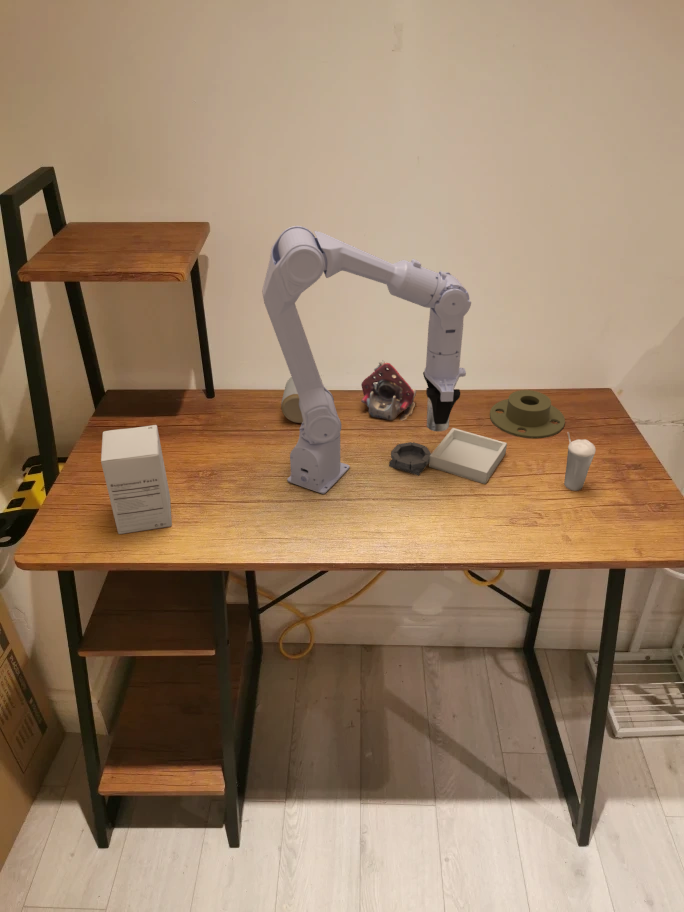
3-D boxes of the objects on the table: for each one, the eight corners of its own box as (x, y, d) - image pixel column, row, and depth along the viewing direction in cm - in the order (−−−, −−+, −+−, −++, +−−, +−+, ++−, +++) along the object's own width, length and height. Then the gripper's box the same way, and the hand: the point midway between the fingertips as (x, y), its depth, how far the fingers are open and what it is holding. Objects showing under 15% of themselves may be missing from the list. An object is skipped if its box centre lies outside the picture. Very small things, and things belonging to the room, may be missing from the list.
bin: (485, 484, 129) (486, 472, 128) (428, 466, 134) (429, 455, 132) (505, 453, 137) (507, 443, 136) (451, 438, 142) (452, 427, 140)
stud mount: (420, 477, 131) (420, 468, 130) (385, 466, 134) (385, 457, 133) (435, 458, 136) (436, 449, 135) (401, 448, 139) (402, 438, 138)
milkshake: (565, 473, 132) (575, 426, 126) (591, 485, 129) (602, 438, 123) (551, 483, 129) (561, 436, 124) (578, 496, 126) (589, 449, 121)
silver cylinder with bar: (427, 432, 129) (428, 396, 125) (424, 420, 132) (425, 385, 128) (451, 430, 129) (454, 394, 125) (447, 419, 132) (450, 383, 128)
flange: (484, 411, 142) (562, 426, 137) (500, 377, 153) (572, 390, 149) (482, 431, 145) (558, 446, 140) (498, 396, 156) (568, 409, 151)
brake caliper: (349, 410, 146) (362, 353, 146) (363, 417, 156) (375, 363, 156) (403, 421, 142) (416, 362, 143) (414, 427, 153) (426, 372, 153)
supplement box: (118, 502, 125) (101, 429, 117) (170, 495, 127) (157, 423, 119) (116, 535, 118) (99, 461, 110) (172, 527, 120) (159, 453, 111)
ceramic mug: (280, 424, 146) (279, 391, 142) (286, 404, 153) (285, 371, 148) (332, 427, 145) (332, 394, 141) (335, 406, 152) (336, 374, 148)
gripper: (474, 367, 116) (467, 437, 124) (461, 328, 128) (455, 395, 135) (430, 368, 116) (426, 438, 124) (421, 329, 128) (418, 396, 135)
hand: (438, 416), depth 129 cm, fingers closed on silver cylinder with bar, 4 cm apart
